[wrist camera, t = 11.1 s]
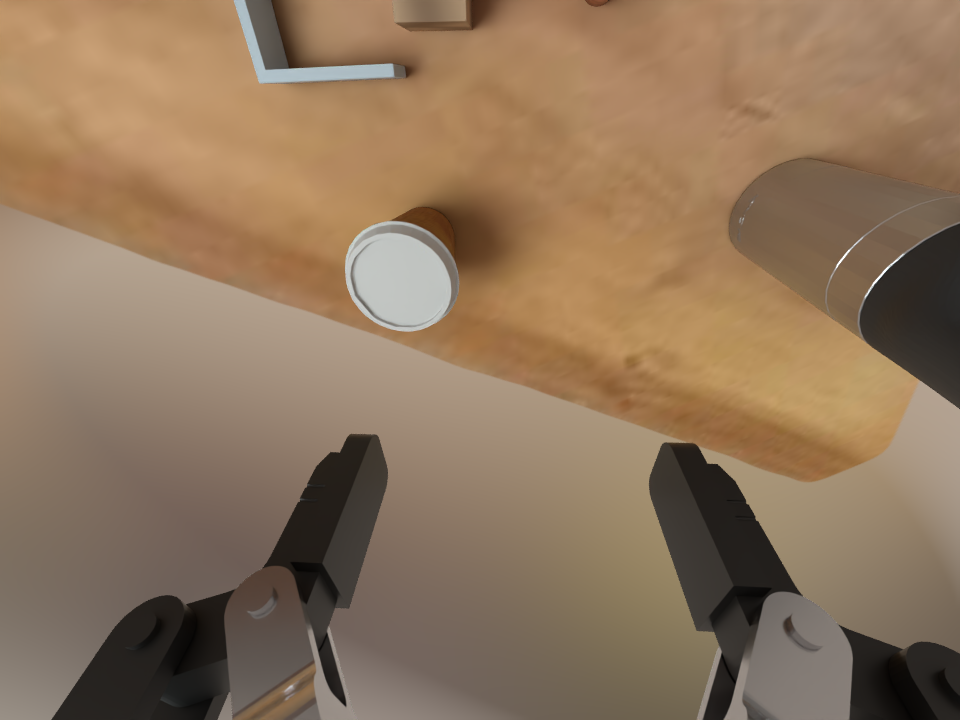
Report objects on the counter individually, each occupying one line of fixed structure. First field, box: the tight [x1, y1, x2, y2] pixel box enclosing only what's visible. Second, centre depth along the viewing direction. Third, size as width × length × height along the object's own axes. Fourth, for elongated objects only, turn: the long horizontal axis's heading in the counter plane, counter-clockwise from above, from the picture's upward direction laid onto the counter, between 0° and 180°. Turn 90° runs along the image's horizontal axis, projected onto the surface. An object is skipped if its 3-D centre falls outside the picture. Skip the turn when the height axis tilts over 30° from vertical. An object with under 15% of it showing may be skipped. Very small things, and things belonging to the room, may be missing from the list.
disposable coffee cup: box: [345, 207, 459, 331], centre depth 35 cm, size 10×10×12 cm
